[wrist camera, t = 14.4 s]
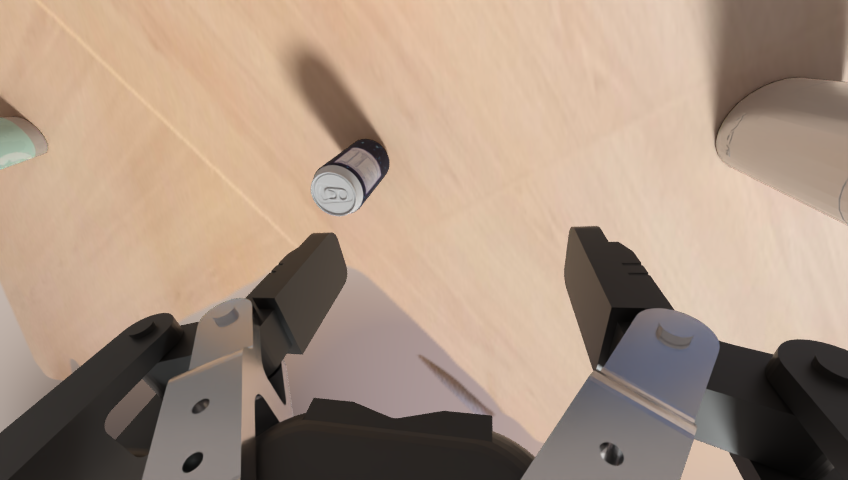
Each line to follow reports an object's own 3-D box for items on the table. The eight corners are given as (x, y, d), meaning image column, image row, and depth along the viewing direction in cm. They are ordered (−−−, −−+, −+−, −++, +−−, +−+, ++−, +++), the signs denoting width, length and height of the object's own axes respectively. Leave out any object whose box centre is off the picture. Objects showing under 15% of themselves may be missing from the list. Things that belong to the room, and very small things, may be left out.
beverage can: (347, 136, 40) (301, 166, 30) (389, 138, 39) (356, 169, 29) (353, 177, 43) (312, 217, 33) (392, 180, 43) (362, 222, 33)
